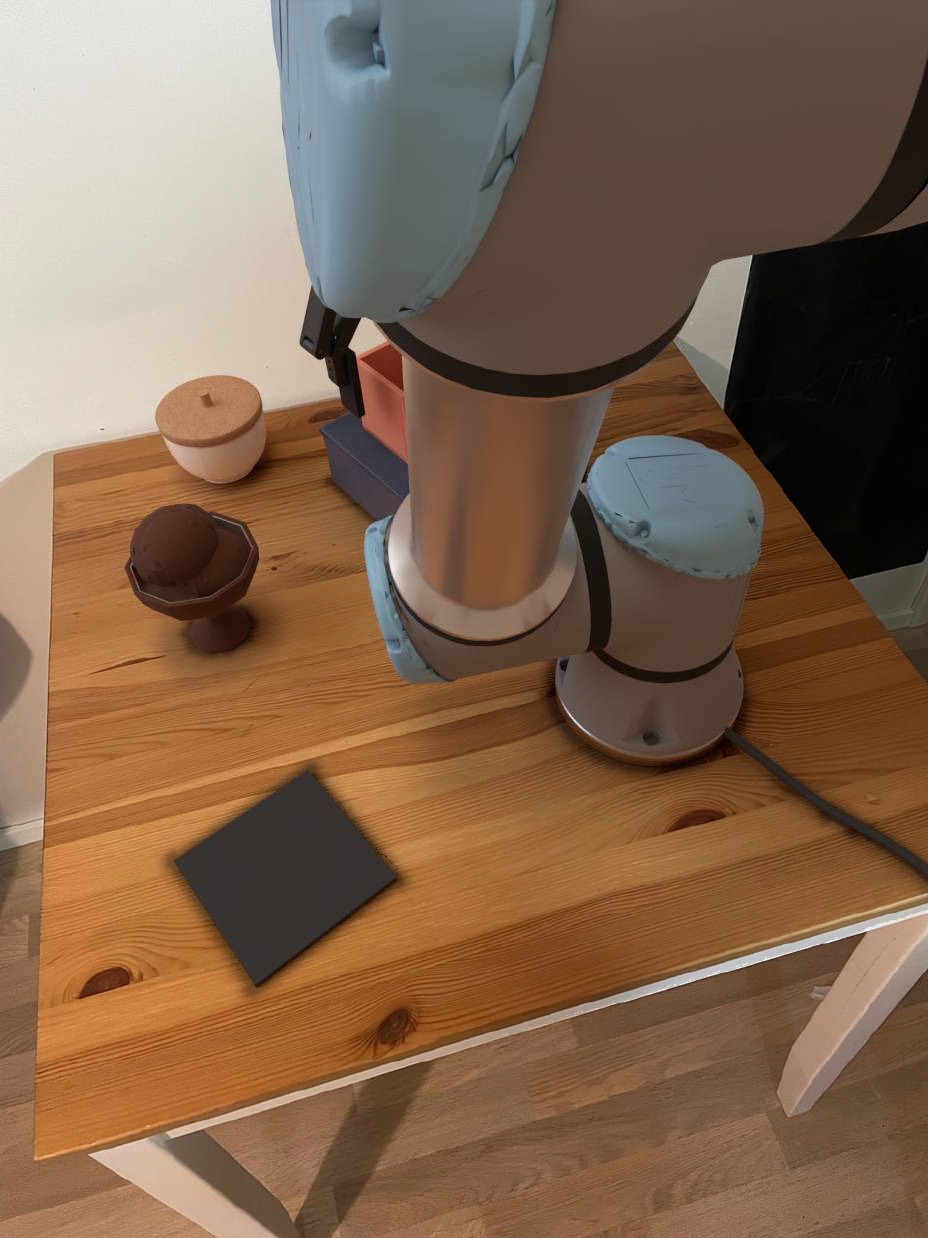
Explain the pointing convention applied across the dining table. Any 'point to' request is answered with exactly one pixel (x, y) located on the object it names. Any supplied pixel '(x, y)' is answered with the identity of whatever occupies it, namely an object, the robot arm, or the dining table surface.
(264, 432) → the trinket box
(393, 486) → the tin
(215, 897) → the mat
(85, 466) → the dining table surface
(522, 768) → the dining table surface
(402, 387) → the tub
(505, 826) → the dining table surface
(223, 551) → the ice cream bowl
